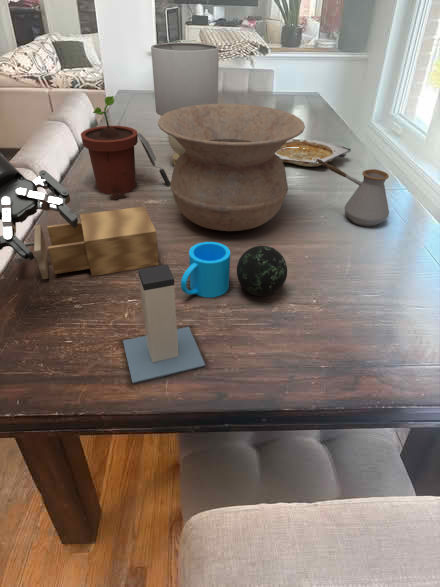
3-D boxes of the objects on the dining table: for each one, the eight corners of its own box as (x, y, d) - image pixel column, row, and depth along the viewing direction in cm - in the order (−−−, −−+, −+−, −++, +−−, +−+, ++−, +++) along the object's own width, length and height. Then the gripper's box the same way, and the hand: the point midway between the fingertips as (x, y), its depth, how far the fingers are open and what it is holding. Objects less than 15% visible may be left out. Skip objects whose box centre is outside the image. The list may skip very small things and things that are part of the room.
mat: (132, 384, 65) (132, 382, 65) (123, 342, 72) (122, 340, 72) (205, 366, 68) (205, 364, 68) (189, 328, 76) (188, 326, 75)
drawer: (20, 282, 84) (11, 254, 80) (22, 254, 93) (13, 227, 89) (108, 268, 89) (104, 241, 85) (102, 243, 98) (98, 216, 94)
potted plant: (115, 172, 136) (104, 89, 121) (171, 184, 129) (166, 97, 114) (78, 191, 123) (60, 100, 108) (138, 206, 116) (127, 111, 101)
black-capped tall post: (152, 362, 68) (143, 284, 58) (147, 346, 71) (138, 269, 61) (178, 356, 69) (174, 278, 60) (172, 341, 72) (167, 264, 63)
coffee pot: (385, 213, 115) (400, 160, 106) (386, 232, 106) (403, 176, 97) (308, 203, 120) (316, 151, 111) (303, 220, 111) (312, 165, 102)
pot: (170, 191, 125) (165, 102, 110) (282, 193, 125) (293, 104, 110) (157, 249, 97) (148, 141, 82) (301, 251, 98) (318, 144, 83)
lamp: (147, 166, 141) (136, 46, 120) (181, 150, 155) (177, 40, 134) (195, 178, 133) (193, 52, 112) (227, 161, 147) (231, 46, 125)
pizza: (344, 176, 137) (351, 153, 154) (346, 164, 134) (353, 142, 151) (251, 165, 146) (268, 145, 163) (251, 153, 143) (268, 134, 160)
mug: (208, 270, 91) (208, 237, 86) (236, 284, 87) (238, 251, 82) (168, 294, 84) (165, 260, 79) (197, 311, 79) (196, 276, 74)
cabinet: (91, 276, 88) (84, 241, 83) (86, 247, 98) (79, 214, 92) (158, 265, 92) (156, 231, 87) (147, 238, 102) (144, 206, 96)
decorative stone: (281, 277, 89) (287, 237, 83) (286, 307, 81) (293, 264, 75) (235, 276, 89) (237, 235, 83) (235, 305, 81) (238, 262, 75)
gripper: (27, 162, 72) (91, 225, 71) (-47, 208, 67) (21, 277, 66) (17, 133, 66) (88, 203, 65) (-66, 181, 60) (10, 259, 59)
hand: (54, 240), depth 65 cm, fingers open, 8 cm apart
